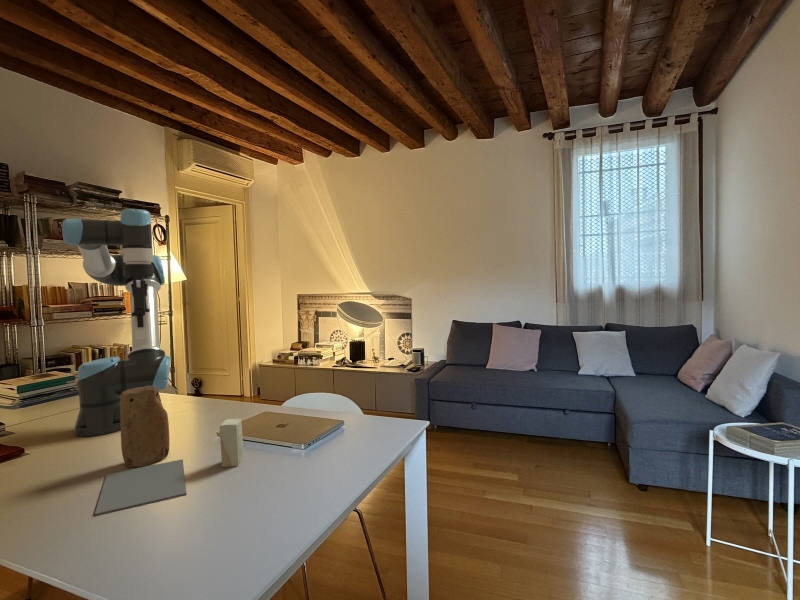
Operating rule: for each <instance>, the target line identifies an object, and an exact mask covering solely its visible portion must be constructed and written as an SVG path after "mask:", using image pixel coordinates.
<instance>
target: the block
mask: <svg viewBox="0 0 800 600" xmlns="http://www.w3.org/2000/svg"><path fill="white" fill-rule="evenodd" d="M120 419H121V430H120V447H121V455H122V459H123V461H124V464H125V466H126V467H128V468H141V467H146V466H150V465H151V464H152V465H153V464H154V463H157V462H160V461H162V460H164V459H165V458H166V457H168V455H169V452H170V425H169V415H168V413H167V410H166V409H165V407H164V406H163V404H162V400H161V395H160V390H158V388H157V387H155V386H145V387H137V388H133V389H128V390H125V391H123V392H122V393H121V405H120Z"/></svg>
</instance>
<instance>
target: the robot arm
mask: <svg viewBox="0 0 800 600" xmlns="http://www.w3.org/2000/svg"><path fill="white" fill-rule="evenodd" d="M61 226H62V228H61V230H62V231H61V232H62V238H63V242H64V244H66V245H69V246H70V245H71V246H77V248H78V250H79V253H80V256H81V257H82V260H83V261H82V267H83V268H82V269H83V270H84V272H85V273H86V274H87V276H88V277H89V278H91V279H93V280H95V281H96V282H99V283H101V284H104V285H109V286H114V287H115V286H116V287H125V290H126V292H128V293H130V294H129V296H130V317H131V319H130V321H131V322H130V323H131V324H130V325H131V347H132V349H131V351H130V352H129V353H127V359H123V360H122V359H121V358H120V357H119V356H118V355H117V356H108V357H103V358H97V359H94V360H90V361H87V362H84V363H82V364H80V365H79V366H78V368H77V379H76V380H77V382H78V383H77V385H78V396H79V397H78V398H79V400H78V401H79V411H78V415H77V418H76V421H75V423H74V435H75V436H79V437H94V436H102V435H106V434H110V433H114V432H118V431H121V419H120V405H121V393H122V392H123V391H125V390H128V389H133V388H137V387H145V386H155V387H157V388H158V391H161V390H164V389H166V388H167V387H168V385H169V378H170V377H169V375H170V364H171V363H170V362H171V356H169V355H166V352H165V350H164V349H162V347H161V343H160V342H161V341H160V325H159V311H158V310H159V309H158V306H159V305H158V296H157V295H158V292H159V291H160V290H161V288H162V286H163V285H164V284H165V279H166V278H165V274H164V273H165V272H164V267H163V264H162V259H161V258H160V257H159V255H154V253H153V252H154V251H153V237H152V236H153V235H152V219H151V213H150V211H148V210H146V209H137V208H128V209H127V208H126V209H122V210H121V212H120V220H114V219H93V218H92V219H89V218H87V219H86V218H65V219H64V220H63V221H62V225H61ZM108 246H121V247H122V251H120V253H119V254H110V251H109V249H108Z"/></svg>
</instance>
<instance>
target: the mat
mask: <svg viewBox="0 0 800 600" xmlns="http://www.w3.org/2000/svg"><path fill="white" fill-rule="evenodd" d="M184 469H185V468H184V459H177V460H172V461H167V462H162V463H157V464H156V463H155V464H152V465H151V464H150V465H146V466H142V467H134V468H132V469H125V470H121V471H115V472H112V473H107V474H106V475H105V479H104V482H103V486H102V489H101V492H100V495H99V499H98V502H97V506H96V509H95V511H94V517H96V516H99V515H104V514H105V515H106V514H109V513H112V512H117V511H122V510H126V509H131V508H134V507H138V506H144V505H148V504H152V503H157V502H160V501H165V500H166V501H167V500H171V499H173V498H178V497H183V496H187V494H188V493H187V486H186V477H185V470H184Z"/></svg>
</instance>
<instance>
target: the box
mask: <svg viewBox="0 0 800 600" xmlns="http://www.w3.org/2000/svg"><path fill="white" fill-rule="evenodd" d="M242 425H243V423H242V418H230V419H229V418H228V419H225V420H223V422H221V423H220V425H219V433H220V434H219V435H220V438H219V439H220V453H221V455H220V456H221V468H226V467H227V468H231V467H239V466H240V465H241V463H242V461H243V460H244V445H243V439H244V438H243V426H242Z"/></svg>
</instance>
